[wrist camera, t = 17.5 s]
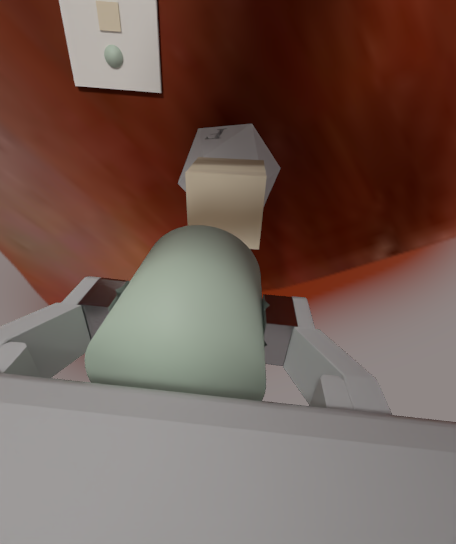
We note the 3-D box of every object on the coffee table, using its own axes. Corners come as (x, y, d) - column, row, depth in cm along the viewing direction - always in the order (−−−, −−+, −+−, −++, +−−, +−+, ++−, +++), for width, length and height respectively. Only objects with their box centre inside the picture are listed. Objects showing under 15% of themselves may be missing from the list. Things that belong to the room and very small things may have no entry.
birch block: (198, 157, 21) (185, 172, 17) (263, 160, 21) (266, 176, 17) (199, 218, 24) (188, 245, 20) (257, 222, 24) (259, 249, 20)
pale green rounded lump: (124, 247, 11) (45, 339, 7) (236, 207, 10) (225, 289, 6) (178, 331, 13) (144, 439, 9) (275, 307, 12) (287, 419, 8)
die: (291, 147, 28) (261, 91, 19) (279, 232, 29) (245, 215, 20) (219, 150, 31) (166, 104, 23) (210, 226, 32) (155, 210, 23)
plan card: (46, -77, 20) (42, -80, 20) (153, -70, 20) (151, -73, 20) (77, 85, 26) (74, 85, 26) (161, 92, 26) (160, 92, 25)
